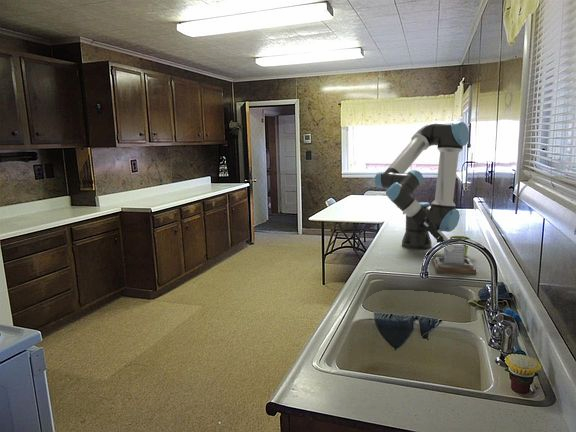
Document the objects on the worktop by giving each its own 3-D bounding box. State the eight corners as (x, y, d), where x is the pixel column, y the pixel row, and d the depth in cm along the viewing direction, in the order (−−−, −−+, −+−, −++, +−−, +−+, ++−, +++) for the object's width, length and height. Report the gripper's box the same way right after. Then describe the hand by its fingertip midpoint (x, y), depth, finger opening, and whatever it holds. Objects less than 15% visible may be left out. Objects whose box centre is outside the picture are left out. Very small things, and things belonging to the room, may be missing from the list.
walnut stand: (432, 262, 197) (432, 255, 196) (469, 264, 193) (469, 256, 193) (436, 272, 183) (436, 265, 183) (475, 274, 180) (476, 266, 179)
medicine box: (462, 262, 189) (463, 244, 187) (464, 266, 185) (465, 246, 183) (443, 262, 191) (444, 243, 189) (445, 265, 186) (445, 246, 185)
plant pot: (445, 255, 208) (446, 238, 206) (455, 251, 214) (456, 234, 212) (463, 259, 201) (464, 241, 199) (473, 255, 206) (474, 238, 205)
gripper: (406, 212, 199) (438, 243, 199) (410, 224, 175) (447, 260, 175) (418, 201, 197) (451, 233, 197) (424, 211, 173) (461, 248, 173)
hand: (449, 245), depth 186 cm, fingers open, 13 cm apart
